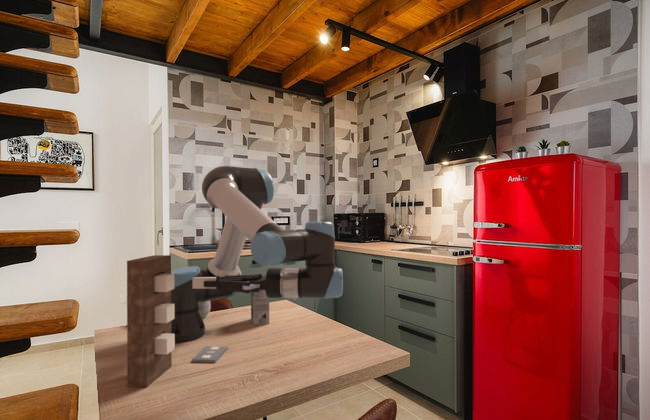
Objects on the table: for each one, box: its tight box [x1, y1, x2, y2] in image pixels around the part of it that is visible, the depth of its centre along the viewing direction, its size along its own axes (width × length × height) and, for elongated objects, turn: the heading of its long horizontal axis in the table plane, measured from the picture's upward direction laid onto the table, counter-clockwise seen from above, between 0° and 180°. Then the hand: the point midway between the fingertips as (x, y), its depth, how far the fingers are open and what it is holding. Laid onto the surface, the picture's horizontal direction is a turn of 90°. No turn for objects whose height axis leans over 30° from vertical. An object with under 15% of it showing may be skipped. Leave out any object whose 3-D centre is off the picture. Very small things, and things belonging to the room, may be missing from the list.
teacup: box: [200, 301, 212, 319], centre depth 148 cm, size 14×11×8 cm
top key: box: [154, 274, 174, 292], centre depth 93 cm, size 4×4×4 cm
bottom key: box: [155, 333, 176, 354], centre depth 93 cm, size 4×4×4 cm
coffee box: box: [250, 290, 270, 326], centre depth 140 cm, size 9×6×16 cm
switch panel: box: [126, 254, 172, 388], centre depth 93 cm, size 5×12×31 cm, turn 176°
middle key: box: [154, 304, 175, 323], centre depth 93 cm, size 4×4×4 cm
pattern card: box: [191, 345, 228, 363], centre depth 106 cm, size 7×10×1 cm
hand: (193, 282), depth 92 cm, fingers closed
